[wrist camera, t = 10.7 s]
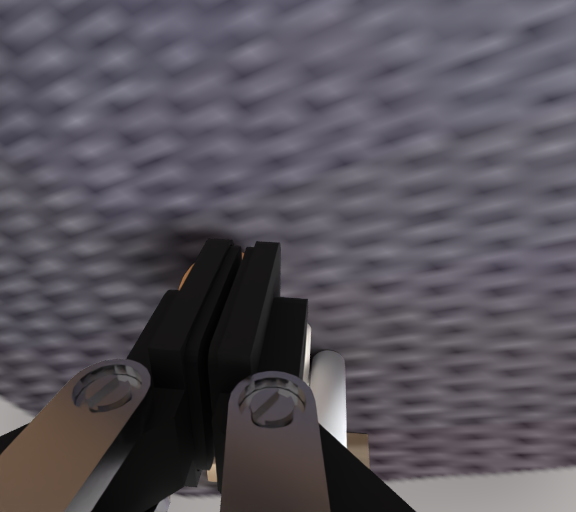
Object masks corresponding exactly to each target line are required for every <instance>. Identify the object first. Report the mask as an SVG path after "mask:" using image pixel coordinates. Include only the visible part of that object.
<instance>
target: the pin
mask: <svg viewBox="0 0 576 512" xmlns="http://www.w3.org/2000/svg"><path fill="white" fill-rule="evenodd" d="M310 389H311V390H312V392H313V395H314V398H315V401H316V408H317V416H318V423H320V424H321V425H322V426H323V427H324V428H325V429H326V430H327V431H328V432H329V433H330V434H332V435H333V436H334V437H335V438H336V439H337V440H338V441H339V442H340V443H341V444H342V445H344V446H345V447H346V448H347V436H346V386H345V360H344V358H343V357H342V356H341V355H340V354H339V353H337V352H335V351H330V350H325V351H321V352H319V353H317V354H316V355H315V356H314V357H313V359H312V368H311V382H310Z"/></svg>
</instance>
